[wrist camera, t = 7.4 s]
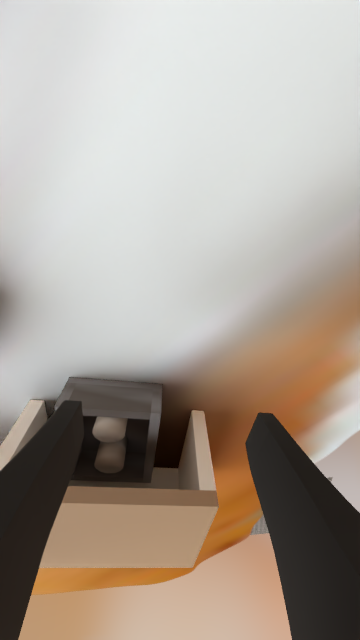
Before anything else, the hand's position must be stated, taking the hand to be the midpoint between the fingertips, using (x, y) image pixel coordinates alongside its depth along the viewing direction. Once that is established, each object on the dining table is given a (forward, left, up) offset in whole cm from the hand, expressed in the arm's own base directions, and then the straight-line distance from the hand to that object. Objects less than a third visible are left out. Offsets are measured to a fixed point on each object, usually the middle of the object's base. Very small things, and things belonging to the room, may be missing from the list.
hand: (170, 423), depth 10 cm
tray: (-12, +4, -10) cm, 16 cm away
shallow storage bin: (-16, +4, -9) cm, 18 cm away
